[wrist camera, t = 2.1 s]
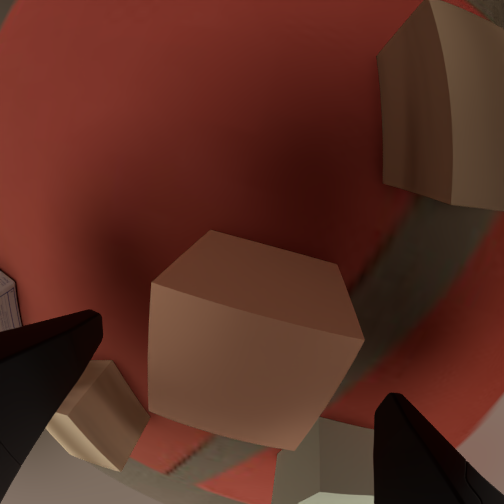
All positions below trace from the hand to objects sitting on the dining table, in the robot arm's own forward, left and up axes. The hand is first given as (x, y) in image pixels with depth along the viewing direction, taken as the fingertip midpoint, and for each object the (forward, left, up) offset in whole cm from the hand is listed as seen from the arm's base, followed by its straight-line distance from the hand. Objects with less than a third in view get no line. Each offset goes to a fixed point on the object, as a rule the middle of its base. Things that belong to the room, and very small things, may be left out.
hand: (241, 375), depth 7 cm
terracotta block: (0, 0, -4) cm, 5 cm away
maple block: (+8, +10, -4) cm, 14 cm away
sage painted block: (-7, +9, -4) cm, 12 cm away
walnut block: (-5, -9, -4) cm, 11 cm away
